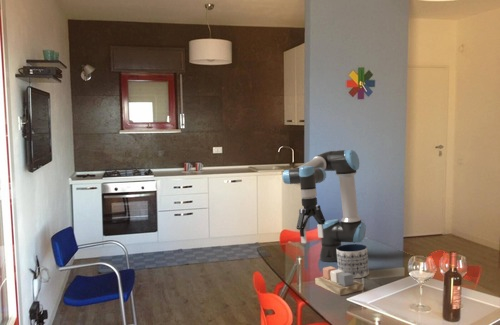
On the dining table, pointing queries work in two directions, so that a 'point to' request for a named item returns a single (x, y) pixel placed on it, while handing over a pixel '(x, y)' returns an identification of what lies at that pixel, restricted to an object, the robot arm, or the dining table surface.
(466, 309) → the dining table surface
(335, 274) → the key mid
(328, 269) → the key
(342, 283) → the key
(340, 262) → the planter
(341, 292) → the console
